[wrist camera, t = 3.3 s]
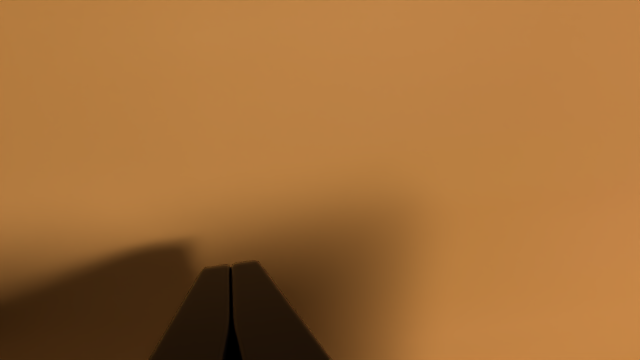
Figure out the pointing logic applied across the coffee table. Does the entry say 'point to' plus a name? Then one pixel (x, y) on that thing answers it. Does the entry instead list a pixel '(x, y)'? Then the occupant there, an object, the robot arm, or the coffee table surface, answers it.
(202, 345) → the robot arm
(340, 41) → the coffee table surface
